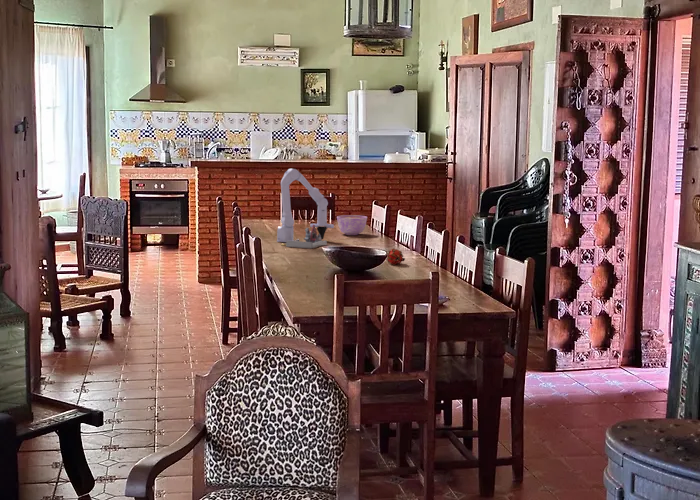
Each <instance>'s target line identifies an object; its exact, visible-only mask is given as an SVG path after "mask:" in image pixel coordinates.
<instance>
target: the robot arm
mask: <svg viewBox="0 0 700 500" xmlns="http://www.w3.org/2000/svg"><path fill="white" fill-rule="evenodd" d="M294 181H298V182H300V183H301V184H302V186H304V187H305V188H306V190H308V195H309V196H310V197H311V198H312V200H313V201H314V202H315V203H316V206H317V215H316V216H317V221H316V223H310V224H309V226H310V228H312V227H313V225H315V228H316V231H317V232H318V234H320V235H321V239H322V240H324V238H325V234H326V231H327V229H328V228H330V229H334V228H335V227H334V226H335V224H330V223H327V221H328V219H327V218H328V207H327V206H328V205H329V202H328V199H327V198H325V197H324V196H325V195H324V194H322V193H321V192H320V189H319V188H317V187H313V186H312V185H311V183H310V182H309V181H308V179H306V178H305V176H304V175H303V174H302V173H301V172H300V171H299V170H298V169H296V168H288V169H287V170H286V171H284V174H283V176H282V178H281V180H280V190H281V192H280V194H281V205H282V212H281V219H280V223H281V226H278V227H277V231H276V233H277V234H276V235H277V236H276V237H277V238H276V239H277V240H276V242H277V243H278V242H279V243H281V242H282V243H286V241H294V240H295V239H294V225H295V219H294V218H293V213H292V207H291V196H290V193H291V192H290V191H291V190H290V185H291V184H292V183H293V182H294Z"/></svg>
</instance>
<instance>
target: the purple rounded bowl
mask: <svg viewBox="0 0 700 500" xmlns="http://www.w3.org/2000/svg"><path fill="white" fill-rule="evenodd" d="M336 220H337V224H338V227H339V228H338V229H339V231H340V232H341V233H343V234H345V235H346V236H357V235H359V234H362V233H363V232H364V230H365V228H366V225H367V221H368V216H367V215H366V216H365V215H356V214H355V215H354V214H347V215H338V216H336Z"/></svg>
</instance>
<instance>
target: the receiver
mask: <svg viewBox="0 0 700 500" xmlns="http://www.w3.org/2000/svg"><path fill="white" fill-rule="evenodd" d="M293 240H294V241H286V242H285V244H286V246H285V247H286V248H296V249H297V248H298V249H314V248H317V247H321V246H327V245H328V242H327V240H325V239H324V240H322V241H318V242H315V243H313V242H306V241H300V238H296V239H293Z"/></svg>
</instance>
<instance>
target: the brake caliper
mask: <svg viewBox="0 0 700 500" xmlns="http://www.w3.org/2000/svg"><path fill="white" fill-rule="evenodd" d="M304 231H305V235H304V236H305V237H304V238H303V241H305V242H313V243H315V242H318V241H323V239H321V235H320V234H319V233H317V232H318V231H317V228H316V227H315V225H313V227H311V230H310V229H309V227H305V230H304Z"/></svg>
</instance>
